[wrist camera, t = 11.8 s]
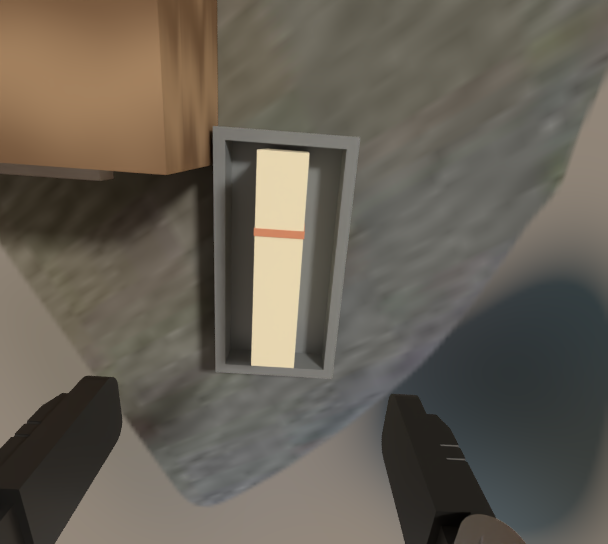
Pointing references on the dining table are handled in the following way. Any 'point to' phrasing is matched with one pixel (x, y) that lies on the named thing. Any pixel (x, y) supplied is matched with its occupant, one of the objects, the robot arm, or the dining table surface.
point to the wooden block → (107, 87)
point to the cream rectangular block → (278, 254)
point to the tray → (315, 255)
